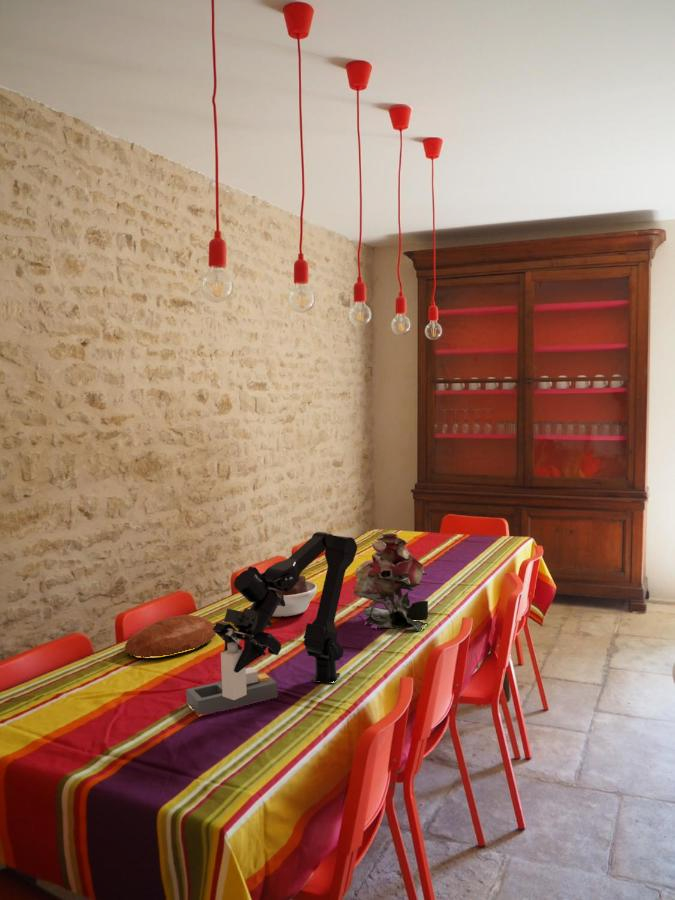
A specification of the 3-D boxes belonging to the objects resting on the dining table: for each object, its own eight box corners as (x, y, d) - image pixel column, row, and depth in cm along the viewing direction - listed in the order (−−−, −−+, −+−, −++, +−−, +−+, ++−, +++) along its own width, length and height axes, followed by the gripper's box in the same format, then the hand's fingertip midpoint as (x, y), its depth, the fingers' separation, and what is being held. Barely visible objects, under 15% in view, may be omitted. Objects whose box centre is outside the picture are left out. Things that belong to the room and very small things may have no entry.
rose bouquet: (427, 607, 266) (425, 525, 264) (429, 632, 237) (427, 540, 235) (356, 607, 268) (354, 526, 267) (350, 632, 239) (347, 541, 238)
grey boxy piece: (263, 686, 195) (262, 661, 195) (277, 698, 188) (276, 671, 187) (186, 704, 185) (185, 677, 185) (198, 717, 177) (197, 689, 177)
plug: (235, 690, 177) (233, 639, 176) (246, 694, 174) (244, 642, 173) (222, 696, 174) (220, 644, 173) (234, 700, 171) (231, 647, 170)
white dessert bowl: (316, 622, 251) (314, 579, 250) (243, 624, 252) (241, 581, 251) (319, 603, 276) (318, 563, 275) (253, 604, 277) (251, 565, 276)
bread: (108, 656, 224) (106, 628, 223) (179, 627, 252) (178, 602, 251) (163, 668, 213) (162, 638, 212) (232, 636, 240) (231, 609, 240)
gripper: (216, 589, 181) (183, 645, 174) (270, 600, 169) (237, 661, 162) (241, 612, 188) (210, 668, 180) (295, 625, 176) (264, 684, 168)
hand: (229, 669), depth 172 cm, fingers closed on plug, 4 cm apart
